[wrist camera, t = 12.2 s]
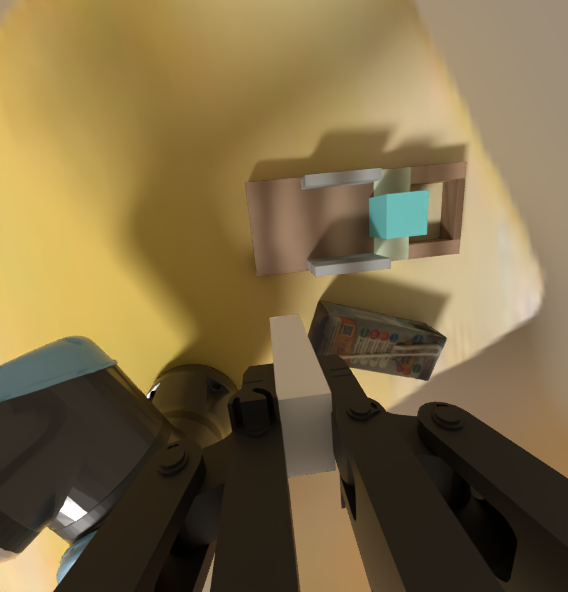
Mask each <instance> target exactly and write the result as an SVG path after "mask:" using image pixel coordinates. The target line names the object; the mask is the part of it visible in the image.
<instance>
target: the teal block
mask: <svg viewBox="0 0 568 592" xmlns="http://www.w3.org/2000/svg"><path fill="white" fill-rule="evenodd" d="M428 198H429V190H424V191H414V192H404V193H394V194H386V195H381V196H377V197H372V198H369V237H374V238H382V239H391V238H400V237H409V236H418V235H427V220H428Z"/></svg>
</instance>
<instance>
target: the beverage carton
mask: <svg viewBox="0 0 568 592" xmlns="http://www.w3.org/2000/svg"><path fill="white" fill-rule="evenodd" d="M308 338H309V340H310V343H311V345H312V348H313V350H314V352H315V355H316V357H318V356H326V355H333V354H336V355H338V356H339V357H341V358H342V359H344V360H345V362H346V363H347V365H348V366H349V367H350V368H356V369H362V370H368V371H374V372H379V373H386V374H391V375H398V376H404V377H412V378H415V379H421V380H425V381H428V380H429V378H430V376H431V374H432V371H433V369H434V366H435V364H436V362H437V360H438V358H439V356H440V353H441V351H442V349H443V347H444V345H445V342H446V339H447V338H446V337H445V336H444V335H442V334H441V333H439V332H438V331H436V330H434V329H433V328H432V327H430V326H428V325H427V324H425V323H421V322H416V321H411V320H406V319H402V318H398V317H393V316H388V315H384V314H379V313H375V312H371V311H366V310H362V309H357V308H353V307H348V306H343V305H338V304H333V303H328V302H322V301H319V302H318V305H317V308H316V311H315V315H314V318H313V321H312V324H311V327H310V330H309V333H308Z"/></svg>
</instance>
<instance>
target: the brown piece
mask: <svg viewBox="0 0 568 592" xmlns="http://www.w3.org/2000/svg"><path fill="white" fill-rule="evenodd" d="M466 164H467V162H457V163H446V164H436V165H425V166H414V167H404V168H394V169H383V170H382V168H374V169H363V170H353V171H342V172H331V173H321V174H310V175H305V176H304V177H297V178H287V179H276V180H265V181H255V182H245V186H246V194H247V202H248V210H249V217H250V225H251V233H252V241H253V249H254V256H255V264H256V272H257V276H264V275H273V274H282V273H291V272H300V271H310V272H311V273H312V274H313V275H314V276H315V277H320V276H329V275H338V274H346V273H355V272H364V271H373V270H381V269H390V268H391V261H396V260H405V259H415V258H423V257H432V256H441V255H450V254H459V249H460V237H461V225H462V213H463V200H464V188H465V176H466ZM439 182H443V193H442V210H441V226H440V239H433V240H424V241H415V242H409V237H400V238H391V239H382V238H374V237H369V198H372V197H377V196H381V195H386V194H394V193H404V192H410V186H411V185H419V184H429V183H439Z"/></svg>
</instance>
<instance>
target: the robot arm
mask: <svg viewBox="0 0 568 592" xmlns="http://www.w3.org/2000/svg"><path fill="white" fill-rule="evenodd" d="M269 319H270V330H271V341H272V352H273V363H272V364H265V365H257V366H250V367H249V368H248V369H247V370H246V372H245V373H244V374H243V382H242V383H243V384H242V389H241V390H239V391H238V389H237V387H236V386H235V384H234V383H233V382H232V381H231V380H230V379H229V378H228V377H227V376H226V375H225V374H223V373H222V372H220V371H218V370H216V369H214V368H211V367H208V366H203V365H184V366H179V367H176V368H173V369H171V370H169V371H167V372H165V373H164V374H163V375H161V376H160V377H159V378H158V379H157V380H156V381H155V383H154V384H153V386H152V387H151V389H150V390H149V392H148V393H147V395H146V396H145V395H144V394H143V392H142V391H141V390H140V389H139V388H138V387H137V386H136V385H135V384H134V383H133V382H132V381H131V379H130V378H129V377H128V376H127V375H126V374H125V373H124V372H123V371H122V370H121V369H120V368H119V366H118V365H117V364H118V362H117V361H116V360H112V359H111V358H110V357H109V356H108V355H107V354H106V353H105V352H104V351H103V350H102V349H101V348H99V347H98V346H97V345H96V344H95V343H94V342H93V341H92V340H90V339H89V338H86V337H83V336H70V337H65V338H62V339H59V340H57V341H54V342H52V343H50V344H47V345H45V346H42V347H40V348H38V349H35V350H33V351H31V352H29V353H26V354H24V355H22V356H20V357H17V358H15V359H13V360H11V361H9V362H7V363H4V364H2V365H0V563H2V562H5V561H8V560H11V559H14V558H16V557H17V556H18V555H19V554H20V553H21V552H22V551H23V550H24V549H25V548H26V547H27V546H28V545H29V544H30V543H31V542H32V541H33V540H34V539H35V538H36V537H37V536H38V534H39V533H40V532H41V531H42V530H43V529H44V528H46V527H48V528H49V529H51V530H52V531H54V532H55V533H56V534H57V535H59V536H60V537H61V538H62V539H64V540H65V541H66V542H67V543H68V544H69V545H70V548H68V549H67V550H66V552H65V553H64V555H63V556H62V558H61V561H60V567H59V569H58V572H57V582H58V586H57V587H56V589H55V590H54V591H53V592H202V590H203V587H204V584H205V581H206V578H207V575H208V572H209V569H210V566H211V563H212V560H213V557H214V553H215V559H214V566H213V573H212V581H211V588H210V592H300V584H299V574H298V565H297V556H296V547H295V538H294V529H293V520H292V510H291V502H290V493H289V485H288V478H290V477H296V476H302V475H309V474H315V473H321V472H328V471H334V470H336V466H335V460H336V463H337V466H338V469H339V472H340V490H341V505H342V508H345V507H346V508H347V510H348V514H349V518H350V521H351V524H352V528H353V531H354V534H355V538H356V541H357V545H358V547H359V551H360V555H361V558H362V561H363V565H364V568H365V571H366V575H367V578H368V581H369V585H370V588H371V591H372V592H568V478H566V477H565V476H563V475H562V474H560V473H559V472H557V471H556V470H554V469H553V468H551V467H550V466H548V465H547V464H545V463H544V462H542V461H541V460H539V459H538V458H536V457H535V456H533V455H532V454H530V453H529V452H527V451H525V450H524V449H523V448H521V447H520V446H518V445H517V444H515V443H514V442H512V441H511V440H509V439H508V438H506V437H504V436H503V435H502V434H500V433H499V432H497V431H496V430H494V429H493V428H491V427H489V426H488V425H486V424H485V423H483V422H482V421H480V420H479V419H477V418H476V417H474V416H473V415H471V414H470V413H468V412H467V411H465V410H463V409H461V408H459V407H457V406H455V405H451V404H448V403H443V402H430V403H426V404H424V405H422V406H421V407H420V408H419V411H418V415H417V416H407V415H398V414H392V413H389V412H386V411H385V409H384V408H383V407H382V406H381V405H380V404H379V403H378V402H377V401H375V400H373V399H371V398H368V397H367V396H366V394H365V393H364V391H363V389H362V388H361V386H360V384H359V383H358V381H357V379H356V378H355V376H354V375H353V373H352V371H351V370H350V369H349V366H348V365H347V363H346V362H345V360H344V359H342V358H341V357H339V356H338V355H336V354H333V355H326V356H318V357H316V355H315V352H314V350H313V348H312V345H311V343H310V340H309V338H308V336H307V333H306V331H305V328H304V326H303V324H302V321H301V319H300V316H299V314H293V315H285V316H277V317H269ZM345 504H346V505H345Z"/></svg>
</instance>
